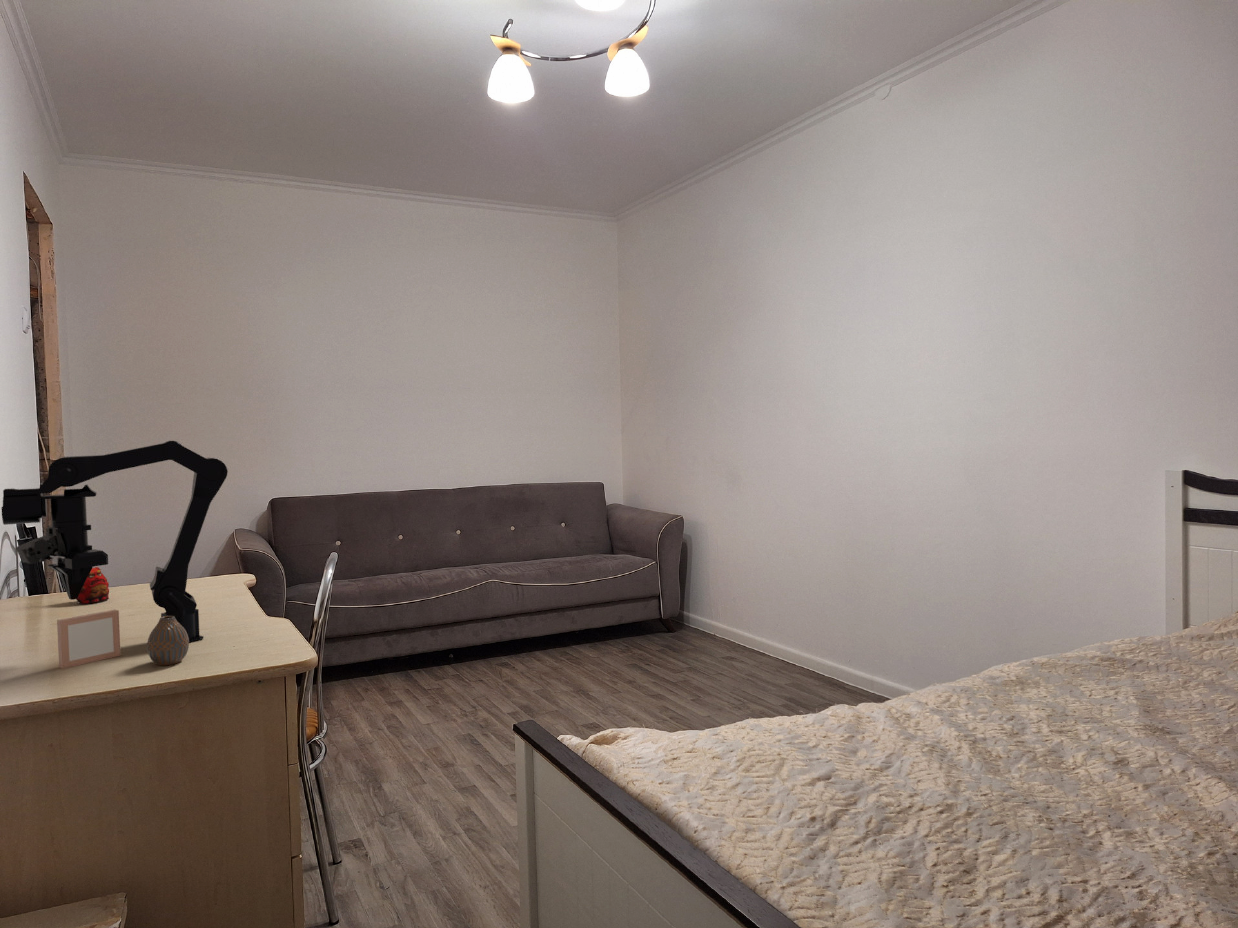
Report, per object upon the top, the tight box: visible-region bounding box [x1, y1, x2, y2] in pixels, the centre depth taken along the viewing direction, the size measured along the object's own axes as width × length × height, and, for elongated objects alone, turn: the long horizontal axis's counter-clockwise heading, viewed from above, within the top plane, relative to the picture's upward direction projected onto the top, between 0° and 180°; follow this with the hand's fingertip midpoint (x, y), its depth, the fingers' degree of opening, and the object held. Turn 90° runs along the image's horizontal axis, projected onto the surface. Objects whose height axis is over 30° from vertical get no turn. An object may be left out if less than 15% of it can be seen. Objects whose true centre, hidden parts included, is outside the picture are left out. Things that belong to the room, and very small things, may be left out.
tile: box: [56, 609, 122, 669], centre depth 153 cm, size 10×2×9 cm, turn 145°
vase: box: [146, 616, 190, 666], centre depth 151 cm, size 7×7×9 cm
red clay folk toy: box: [75, 566, 110, 605], centre depth 206 cm, size 8×7×15 cm
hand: (73, 599), depth 157 cm, fingers closed
